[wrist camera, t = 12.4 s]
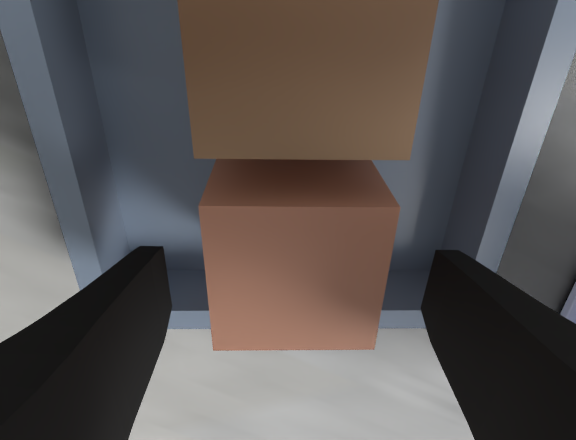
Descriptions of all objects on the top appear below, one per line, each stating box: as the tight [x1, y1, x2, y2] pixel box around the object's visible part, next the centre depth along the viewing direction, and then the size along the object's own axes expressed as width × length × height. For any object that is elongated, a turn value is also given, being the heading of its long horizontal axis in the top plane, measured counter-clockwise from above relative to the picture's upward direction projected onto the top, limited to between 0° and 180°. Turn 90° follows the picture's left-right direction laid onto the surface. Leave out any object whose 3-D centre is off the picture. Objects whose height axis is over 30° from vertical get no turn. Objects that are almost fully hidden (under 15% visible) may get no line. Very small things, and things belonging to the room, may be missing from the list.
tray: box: [0, 0, 576, 329], centre depth 11 cm, size 13×13×3 cm
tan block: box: [177, 0, 439, 160], centre depth 8 cm, size 4×4×5 cm
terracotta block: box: [198, 159, 401, 351], centre depth 11 cm, size 4×4×5 cm
